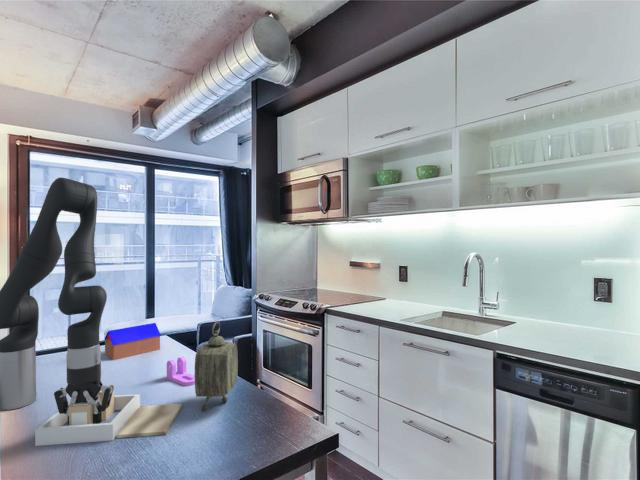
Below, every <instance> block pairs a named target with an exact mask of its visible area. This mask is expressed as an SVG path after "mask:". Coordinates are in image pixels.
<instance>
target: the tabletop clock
mask: <svg viewBox="0 0 640 480" xmlns="http://www.w3.org/2000/svg"><path fill="white" fill-rule="evenodd" d="M217 324H218V329H217V330H215V327H216V325H217ZM211 328H212V329H211V333H212V336H211V337H210V338H209V340H208V341H207V342H205V343H203V344H202V345H201V346H200V348H198V349H197V351H196V353H195V359H194V376H195V385H194V391H195V397H199V398H200V397H202V398H203V397H204V398H205V400H204V404H202V405H200V410H201V411H206V409H207V403H208V402H209V400H210V399H211V398H213V397H215V398H217V397H219V398H221V397H222V399H221V402H222V403H223V404H225V403H227V402H228V398H227V397H226V395H228V394H230V392H231V391H232V390H233V389H234V387H235V385H236V384H237V381H238V376H239V375H238V372H239V371H238V369H239V368H238V367H239V365H238V364H239V363H238V362H239V361H238V360H239V359H238V345H237V344H235V343H234V342H232V341H225V339H224V337H223V336H220V335H219V333H220V332H221V331H220V330H221V323H220V321H219V320H217V321H215V322H213V325H212V327H211Z"/></svg>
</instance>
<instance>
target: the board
mask: <svg viewBox="0 0 640 480" xmlns="http://www.w3.org/2000/svg"><path fill="white" fill-rule="evenodd" d="M182 407H183V403H171V404H166V403H165V404H154V405H140V407H139V408H138V410H137V411H136V412H135V413H134V414H133V416H132V417H131V418H130V419H129V421H128V422H127V423H126V424H125V425H124V427H123V428H122V429H121V430H120V432H119V433H118V434H117V436H116V439H118V438H119V439H124V438H137V437H149V436H150V437H151V436H165V435H167V433H168V432H169V430H170V428H171V426H172V425H173V423H174V421H175V419H176V418H177V416H178V414H179V413H180V411H181V409H182Z"/></svg>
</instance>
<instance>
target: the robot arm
mask: <svg viewBox="0 0 640 480" xmlns="http://www.w3.org/2000/svg"><path fill="white" fill-rule="evenodd" d="M62 211H63V212H67V213H73V214H78V215H79V221H80V222H79V225H78V227H77V229H76V230H75V231H74V233H73V234H72V236H71V237H70V238H69V240H67V242H66V245H65V247H64V250H63V244H62V241H61V238H60V234H59V231H58V227H57V221H58V217H59V214H60V213H61V212H62ZM97 211H98V194H97V190H96V188H95V187H94V186H93V185H91V184H88V183H85V182H80V181H77V180H73V179H70V178H68V177H67V178H65V177H57V178H56V179H54V181H53V182H52V183H51V184H50V186H49V188H48V191H47V193H46V196H45V199H44V201H43V204H42V206H41V208H40V212H39V215H37V216H38V217H37V219H36V221H35V223H34V226H33V228H32V230H31V233H30V234H29V236H28V237H27V239H26V241H25V243H24V245H23V247H22V250H21V251H20V253H19V254H18V258H17V260H16V261H15V263H14V266H13V269H12V270H11V272H10V274H9V276H8V277H7V279H6V280H5V282H4V284H3V286H2V287H1V288H0V330H6V329H11V328H13V330H12V331H11V332H10V333H8V335H6V336H4V337H3V338H1V339H0V411H9V410H10V411H11V410H15V409H20V408H24V407H26V406H29V405H31V404H33V403H34V402H35V401H36V400H37V362H36V360H37V358H36V357H37V349H36V341H37V339H38V336H39V319H40V318H39V316H40V312H39V310H40V308H39V304H38V301H37V299H36V298H35V297H34V296H33V295H29V294H27V293H29V291H30V290H32V289H33V288H34V287H35V286H36V285H38V284H40V282H42V281H43V280H45V278H47V277H48V276H49V275H50V274H51V273H52V272H53V270H54V269H55V267H56V265H57V264H58V262H59V260H60V258H61V257H62V253H63V260H64V261H63V262H64V279H63V284H62V287H61V290H60V295H59V297H58V301H57V302H58V303H57V307H58V310H59V311H60V312H61V313H62V315H66V316H74V315H82V314H83V315H84V314H89V313H90V314H89V316H88V317H87V318H86V319H84V320H81V321H79V322H75V323H72V324H70V325H69V326H68V328H67V333H66V334H67V336H66V337H67V338H66V339H67V350H66V383H67V385H66V387H60V388H59V389H58V390H56V391H54V393H53V397H54V400H55V404H56V407H57V410H58V411H59V413H60V414H63V413H64V414H66V415H67V418H68V421H67V426H69V407H70V406H73V405H74V404H75V403H81V402H85V403H87V402H88V405H91V406H92V411H93V413H94V414H93V424H100V423H102V422H103V421H102V415H101V412H102V411H105V410H106V409H107V408H108V407H109V405H110V401H111V397H112V393H113V389H114V387H115V386H113V385H114V384H109V385H110V386H103V383H102V381H101V380H102V379H101V378H102V361H101V360H102V356H101V355H102V354H101V345H100V326H101V321H102V317H103V313H104V310H105V306H106V304H107V297H108V295H107V292H106V290H105V288H104V287H102V286H100V285H85V286H76V285H77V284H78V283H82V282H85V281H89V280H92V279H94V277H96V274H97V267H96V266H97V265H96V254H95V234H96V233H95V232H96V225H97V213H98V212H97ZM63 251H64V252H63ZM100 390H101V391H102V395H104V396H103V400H102V405H101V402H100V397H99V394H98V393H99V392H100ZM114 390H115V389H114ZM67 395H68V396H69V397H70V400H69V401H68V398H67ZM93 399H94V400H93ZM68 403H69V405H68ZM58 411H57V412H58Z"/></svg>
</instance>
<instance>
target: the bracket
mask: <svg viewBox="0 0 640 480" xmlns="http://www.w3.org/2000/svg"><path fill="white" fill-rule="evenodd" d="M166 380H169V381H172V382H174V383H176V384H178V385H182V386H184V387H185V386H186V387H188V386H189V387H190V386H195V374H191V373H188V372H187V360H186V358H185V356H180V357H178V358H177V360H176V361H175V359H170V360H167V361H166Z"/></svg>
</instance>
